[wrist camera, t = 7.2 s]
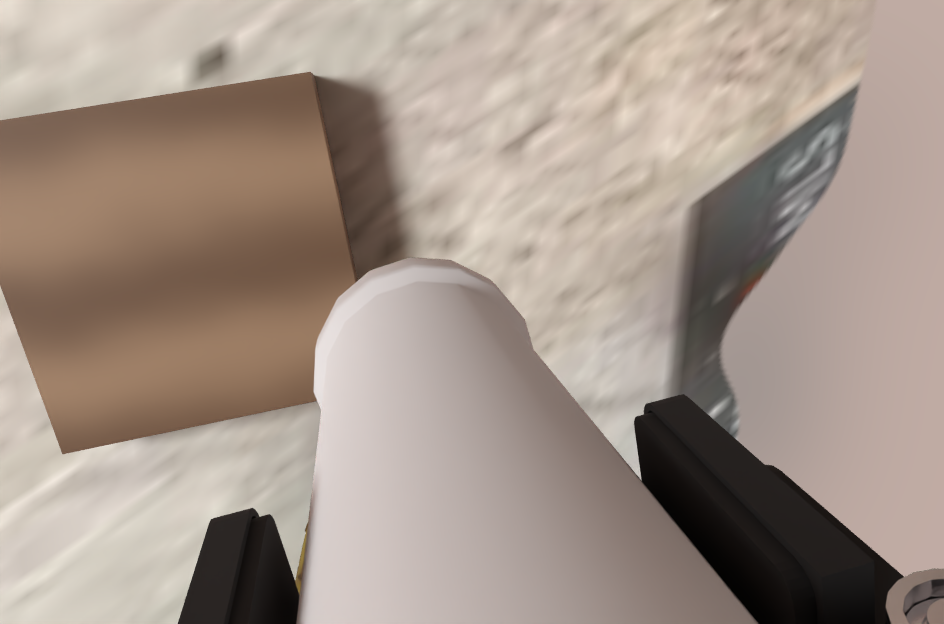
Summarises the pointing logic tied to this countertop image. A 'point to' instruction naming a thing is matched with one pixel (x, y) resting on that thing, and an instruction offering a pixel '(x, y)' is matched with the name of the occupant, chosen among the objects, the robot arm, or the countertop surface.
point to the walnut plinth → (172, 256)
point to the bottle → (476, 476)
